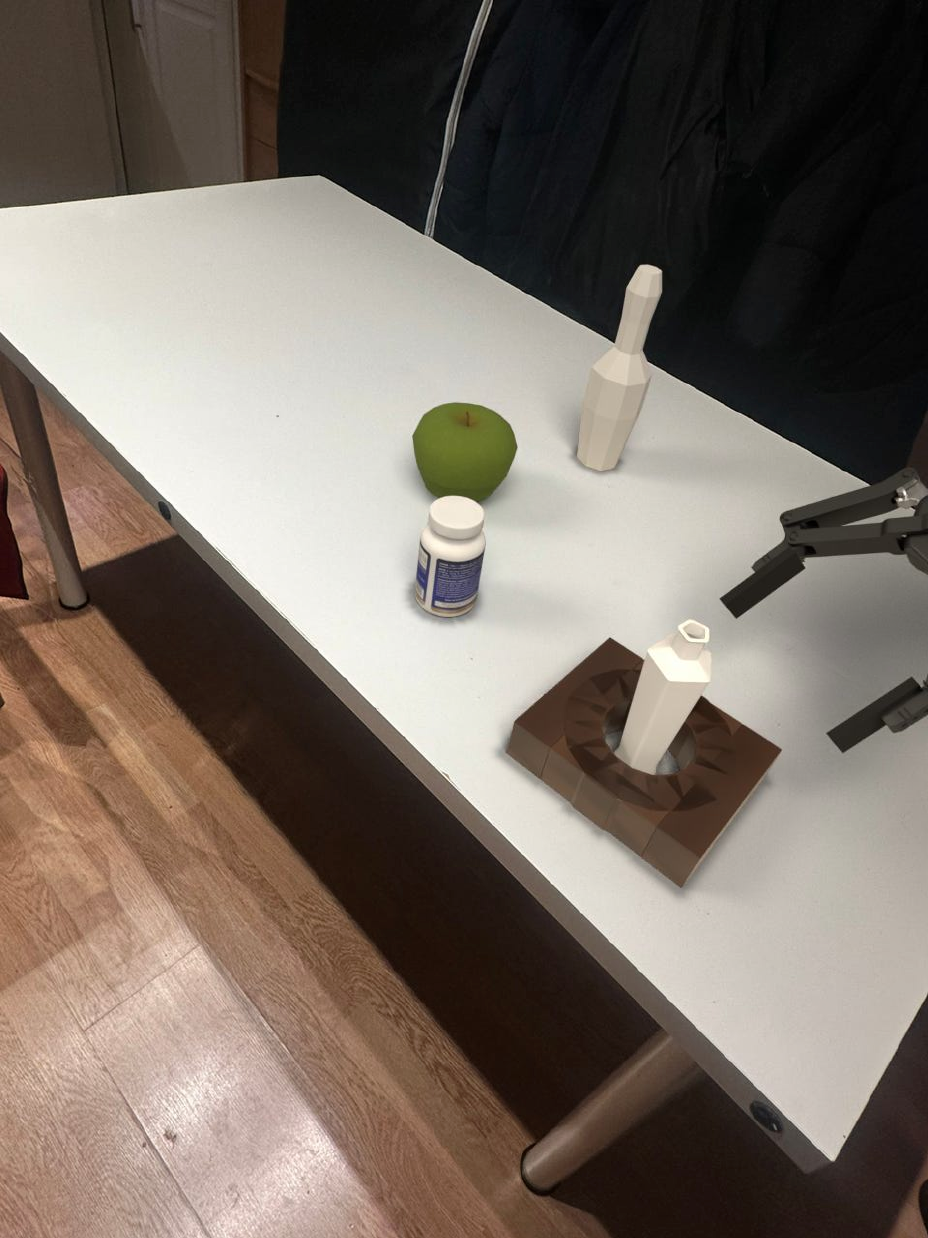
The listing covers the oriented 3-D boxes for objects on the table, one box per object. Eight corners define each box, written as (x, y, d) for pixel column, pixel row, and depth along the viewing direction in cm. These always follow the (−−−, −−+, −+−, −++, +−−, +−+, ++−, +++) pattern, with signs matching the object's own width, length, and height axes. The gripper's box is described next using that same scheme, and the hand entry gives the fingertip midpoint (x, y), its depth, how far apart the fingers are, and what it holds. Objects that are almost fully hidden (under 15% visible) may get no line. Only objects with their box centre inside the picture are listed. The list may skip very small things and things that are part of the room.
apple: (440, 536, 82) (452, 451, 75) (388, 479, 88) (394, 395, 81) (526, 508, 87) (544, 426, 80) (471, 456, 93) (484, 376, 86)
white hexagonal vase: (637, 800, 62) (701, 668, 52) (596, 761, 64) (649, 626, 54) (675, 771, 65) (744, 639, 54) (634, 734, 67) (692, 600, 56)
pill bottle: (487, 594, 77) (503, 508, 70) (455, 628, 73) (469, 541, 66) (434, 569, 78) (445, 482, 71) (401, 601, 75) (410, 513, 68)
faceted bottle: (559, 455, 95) (605, 263, 80) (592, 438, 99) (642, 251, 84) (602, 481, 92) (657, 288, 77) (635, 463, 96) (694, 274, 81)
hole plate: (763, 778, 65) (783, 748, 62) (680, 890, 57) (698, 861, 54) (599, 667, 72) (610, 635, 69) (504, 753, 64) (512, 721, 61)
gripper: (1213, 635, 50) (901, 826, 55) (926, 418, 66) (707, 582, 71) (1223, 581, 44) (876, 798, 50) (908, 359, 61) (673, 542, 66)
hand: (776, 671), depth 61 cm, fingers open, 13 cm apart
